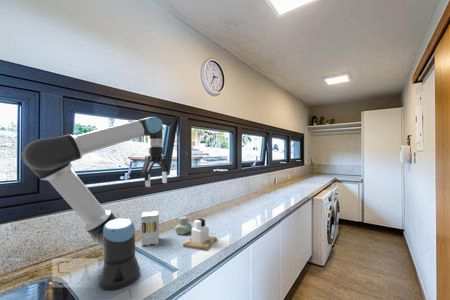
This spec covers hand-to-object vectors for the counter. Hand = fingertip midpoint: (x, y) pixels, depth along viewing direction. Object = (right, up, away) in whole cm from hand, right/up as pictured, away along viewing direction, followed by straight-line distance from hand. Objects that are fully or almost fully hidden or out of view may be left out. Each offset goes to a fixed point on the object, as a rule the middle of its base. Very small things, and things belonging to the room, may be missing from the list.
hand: (156, 184), depth 113 cm
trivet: (+24, -34, +3) cm, 42 cm away
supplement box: (-6, -35, +7) cm, 36 cm away
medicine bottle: (+24, -33, +3) cm, 41 cm away
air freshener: (+11, -35, +19) cm, 41 cm away
